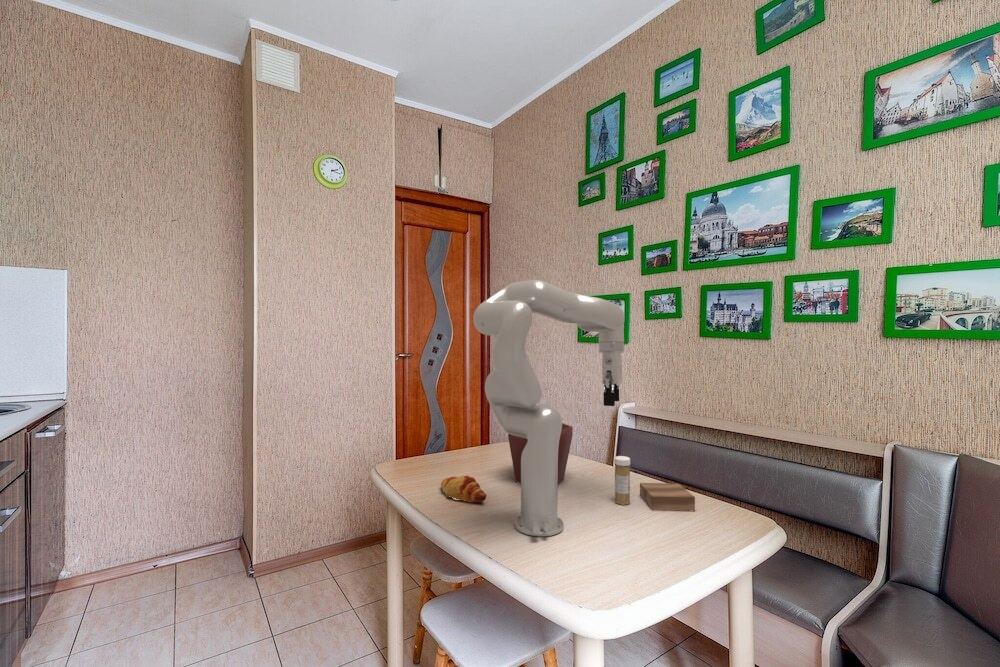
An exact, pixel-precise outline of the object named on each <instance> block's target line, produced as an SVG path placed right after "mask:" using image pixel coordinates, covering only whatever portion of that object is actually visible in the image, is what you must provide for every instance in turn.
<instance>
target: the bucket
mask: <svg viewBox="0 0 1000 667" xmlns="http://www.w3.org/2000/svg"><path fill="white" fill-rule="evenodd" d="M573 428H574V427H573V426H572V425H569V424H567V423H563V422H562V430H561V435H560V439H559V446H558V485H560V483H562V482H564V479H565V474H566V469H567V464H568V459H569V455H570V449H571V444H572V440H573V436H574V435H573V434H574V433H573ZM507 434H508V435H507V436H508V437H507V438H508V444H509V449H510V456H511V462H512V468H513V472H514V479H515V483H516V482H519V483H521V456H522V452H523V450H524V448H525V446H526V444H527V442H528V439H525V438H522V437H518V436H514V435H511V434H509V433H507ZM519 483H518V484H519Z"/></svg>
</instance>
